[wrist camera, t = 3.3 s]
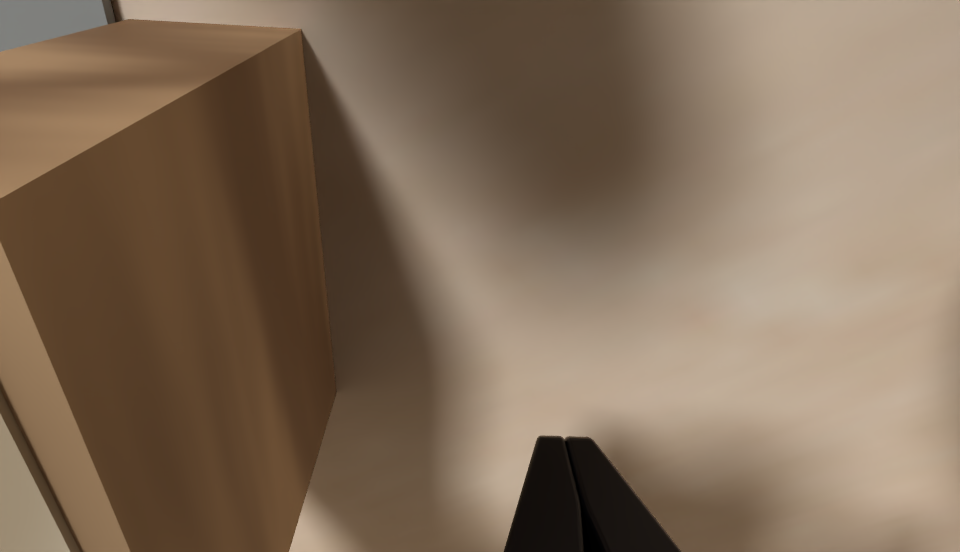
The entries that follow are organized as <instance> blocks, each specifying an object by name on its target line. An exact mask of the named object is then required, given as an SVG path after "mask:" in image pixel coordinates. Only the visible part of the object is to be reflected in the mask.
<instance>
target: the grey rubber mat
mask: <svg viewBox="0 0 960 552" xmlns="http://www.w3.org/2000/svg"><path fill="white" fill-rule="evenodd" d="M112 23H116V21H115V17H114V13H113V9H112V5H111V1H110V0H0V52H2V51H5V50H9V49H13V48H17V47H21V46H25V45H29V44H33V43H37V42H41V41H45V40H49V39H53V38H57V37H61V36H65V35H68V34H72V33H76V32H80V31H84V30H88V29H92V28H96V27H100V26H104V25H108V24H112Z"/></svg>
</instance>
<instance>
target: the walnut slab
mask: <svg viewBox="0 0 960 552" xmlns="http://www.w3.org/2000/svg"><path fill="white" fill-rule="evenodd" d="M335 396H336V383H335V373H334V363H333V352H332V342H331V332H330V322H329V311H328V301H327V291H326V280H325V270H324V260H323V250H322V239H321V229H320V219H319V208H318V198H317V188H316V178H315V167H314V157H313V147H312V136H311V126H310V116H309V105H308V95H307V85H306V75H305V64H304V54H303V44H302V33H301V29H291V28H273V27H256V26H238V25H221V24H204V23H186V22H169V21H151V20H134V19H128V20H124V21H120V22H116V23H112V24H108V25H104V26H100V27H96V28H92V29H88V30H84V31H80V32H76V33H72V34H68V35H65V36H61V37H57V38H53V39H49V40H45V41H41V42H37V43H33V44H29V45H25V46H21V47H17V48H13V49H9V50H5V51H2V52H0V552H289V549H290V546H291V543H292V539H293V536H294V533H295V529H296V526H297V523H298V519H299V516H300V513H301V509H302V506H303V503H304V499H305V496H306V493H307V489H308V486H309V483H310V479H311V476H312V473H313V469H314V466H315V463H316V459H317V456H318V453H319V449H320V446H321V442H322V439H323V436H324V432H325V429H326V426H327V422H328V419H329V416H330V412H331V409H332V406H333V402H334V399H335Z"/></svg>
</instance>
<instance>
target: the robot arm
mask: <svg viewBox="0 0 960 552" xmlns="http://www.w3.org/2000/svg"><path fill="white" fill-rule="evenodd" d="M504 552H681V551H680V549H679V548H678V547H677V545H676V544H675V543H674V542H673V540H672V539H671V538H670V537H669V535H668V534H667V533H666V531H665V530H664V529H663V528H662V526H661V525H660V524H659V523H658V521H657V520H656V519H655V518H654V516H653V515H652V514H651V512H650V511H649V510H648V509H647V507H646V506H645V505H644V504H643V502H642V501H641V500H640V499H639V497H638V496H637V495H636V493H635V492H634V491H633V490H632V488H631V487H630V486H629V485H628V483H627V482H626V481H625V480H624V478H623V477H622V476H621V474H620V473H619V472H618V471H617V469H616V468H615V467H614V466H613V464H612V463H611V462H610V461H609V459H608V458H607V457H606V455H605V454H604V453H603V452H602V450H601V449H600V448H599V447H598V445H597V444H596V443H595V442H594V440H592V439H591V438H589V437H571V436H569V437H566V438H565V439H563V437H561V436H539V437H538V438H537V441H536V444H535V447H534V450H533V454H532V457H531V461H530V464H529V467H528V471H527V474H526V478H525V481H524V484H523V488H522V491H521V495H520V498H519V501H518V505H517V508H516V512H515V515H514V518H513V522H512V525H511V529H510V532H509V535H508V539H507V542H506V546H505V549H504Z"/></svg>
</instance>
